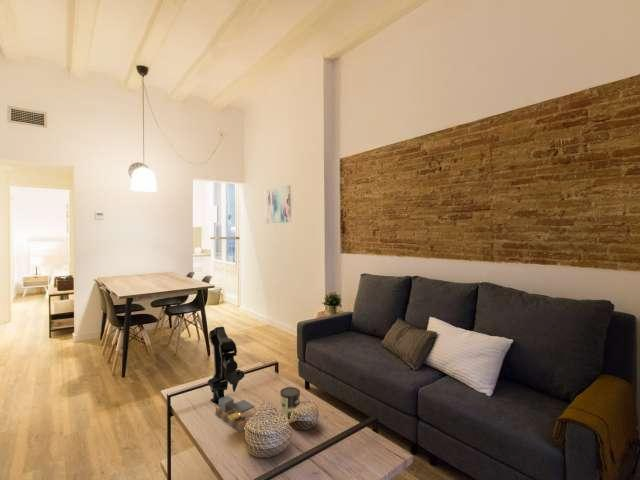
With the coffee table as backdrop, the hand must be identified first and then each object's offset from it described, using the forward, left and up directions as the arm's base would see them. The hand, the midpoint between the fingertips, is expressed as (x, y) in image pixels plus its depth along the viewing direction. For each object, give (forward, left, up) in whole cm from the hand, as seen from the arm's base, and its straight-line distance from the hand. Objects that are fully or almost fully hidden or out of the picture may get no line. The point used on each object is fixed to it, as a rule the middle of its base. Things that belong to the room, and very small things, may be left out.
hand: (226, 394), depth 179 cm
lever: (+12, 0, -6) cm, 14 cm away
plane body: (+6, 0, -11) cm, 13 cm away
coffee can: (+25, +22, -12) cm, 35 cm away
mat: (-2, +11, -11) cm, 16 cm away
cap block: (0, 0, -7) cm, 7 cm away
